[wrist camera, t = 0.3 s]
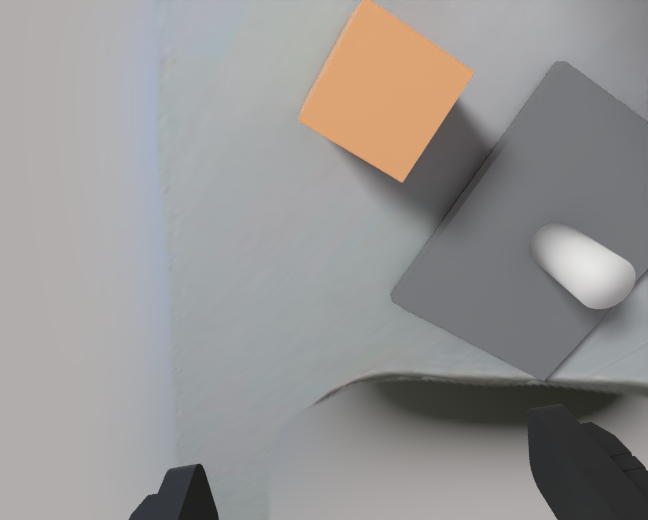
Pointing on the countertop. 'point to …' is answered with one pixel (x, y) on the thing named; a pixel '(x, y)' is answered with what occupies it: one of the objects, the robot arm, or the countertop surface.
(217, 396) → the countertop surface
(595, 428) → the robot arm
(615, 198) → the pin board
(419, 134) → the peach foam cube
